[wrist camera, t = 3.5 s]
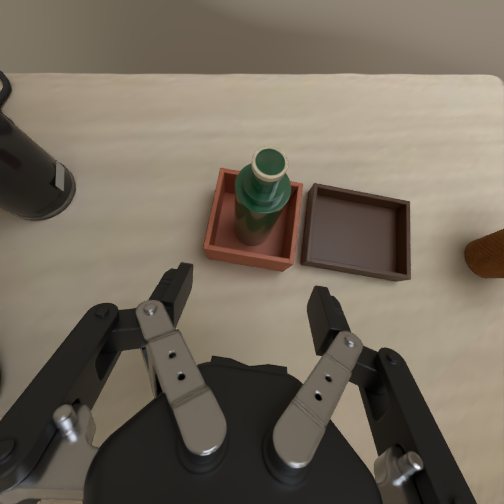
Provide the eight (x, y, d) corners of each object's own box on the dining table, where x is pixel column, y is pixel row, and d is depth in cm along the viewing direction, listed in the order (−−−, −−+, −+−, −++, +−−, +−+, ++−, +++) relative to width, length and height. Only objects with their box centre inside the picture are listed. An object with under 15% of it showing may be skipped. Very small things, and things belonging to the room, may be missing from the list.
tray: (300, 264, 35) (306, 261, 32) (308, 191, 38) (314, 182, 35) (397, 281, 36) (410, 279, 33) (397, 208, 39) (410, 201, 36)
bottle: (225, 228, 35) (221, 160, 19) (250, 203, 36) (267, 120, 20) (252, 254, 34) (272, 207, 18) (277, 228, 35) (317, 162, 19)
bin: (207, 258, 34) (203, 248, 28) (221, 189, 36) (220, 167, 31) (283, 271, 34) (293, 264, 29) (291, 202, 37) (303, 183, 31)
